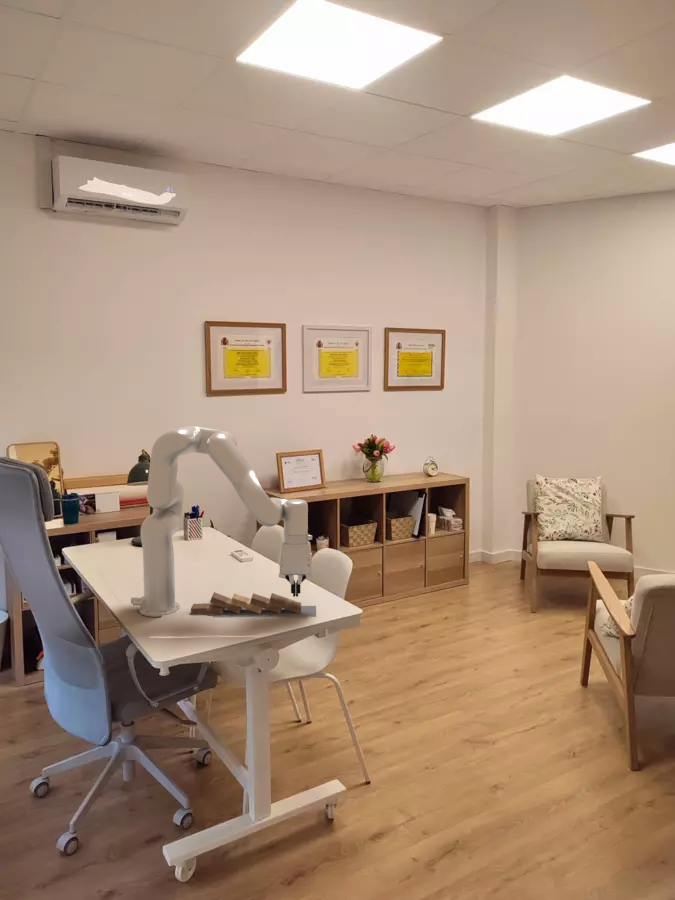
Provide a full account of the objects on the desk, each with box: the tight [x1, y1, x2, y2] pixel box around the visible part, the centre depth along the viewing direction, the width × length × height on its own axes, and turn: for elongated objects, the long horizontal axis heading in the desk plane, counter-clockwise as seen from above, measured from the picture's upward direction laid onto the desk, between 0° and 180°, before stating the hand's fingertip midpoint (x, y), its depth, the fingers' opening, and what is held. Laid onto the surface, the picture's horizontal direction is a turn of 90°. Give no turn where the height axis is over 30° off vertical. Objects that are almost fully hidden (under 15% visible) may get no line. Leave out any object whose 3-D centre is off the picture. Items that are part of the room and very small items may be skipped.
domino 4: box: [250, 593, 282, 614], centre depth 219 cm, size 2×5×10 cm
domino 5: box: [269, 593, 302, 613], centre depth 219 cm, size 2×5×10 cm
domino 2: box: [209, 591, 242, 614], centre depth 218 cm, size 2×5×10 cm
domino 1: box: [190, 602, 225, 615], centre depth 218 cm, size 2×5×10 cm
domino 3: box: [231, 592, 263, 614], centre depth 219 cm, size 2×5×10 cm
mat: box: [212, 605, 317, 618], centre depth 219 cm, size 32×10×1 cm, turn 92°
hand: (295, 595), depth 219 cm, fingers closed
